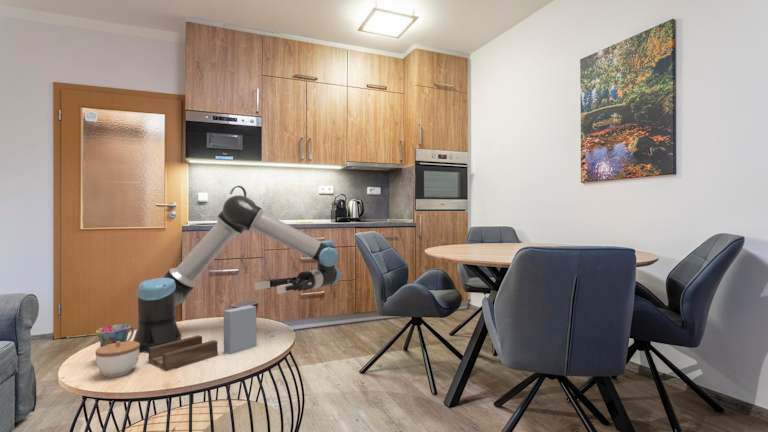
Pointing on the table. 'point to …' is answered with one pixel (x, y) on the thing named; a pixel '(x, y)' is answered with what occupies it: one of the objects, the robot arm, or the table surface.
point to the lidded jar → (117, 358)
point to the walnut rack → (182, 352)
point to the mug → (114, 334)
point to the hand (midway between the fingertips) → (265, 288)
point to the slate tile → (239, 329)
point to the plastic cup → (246, 304)
